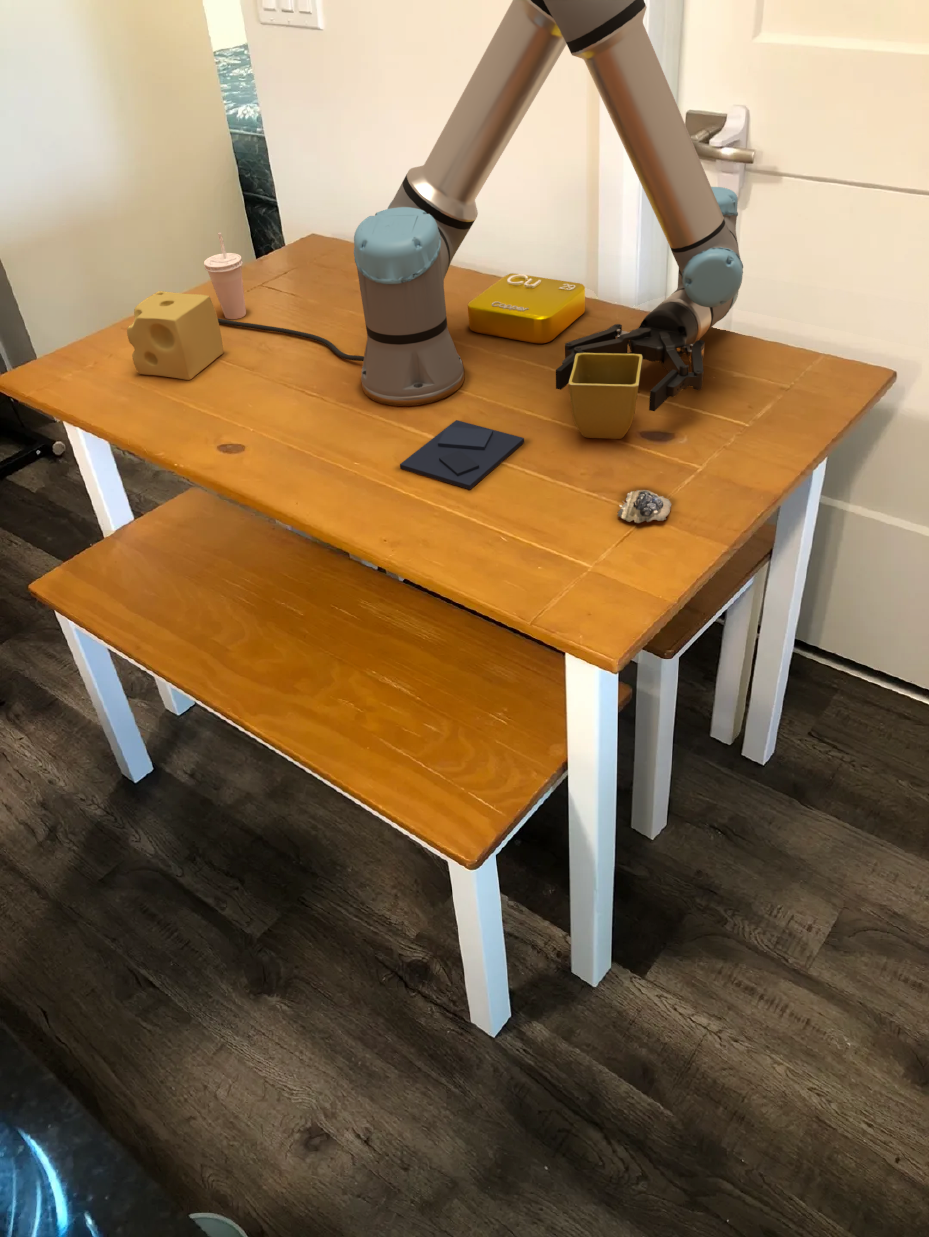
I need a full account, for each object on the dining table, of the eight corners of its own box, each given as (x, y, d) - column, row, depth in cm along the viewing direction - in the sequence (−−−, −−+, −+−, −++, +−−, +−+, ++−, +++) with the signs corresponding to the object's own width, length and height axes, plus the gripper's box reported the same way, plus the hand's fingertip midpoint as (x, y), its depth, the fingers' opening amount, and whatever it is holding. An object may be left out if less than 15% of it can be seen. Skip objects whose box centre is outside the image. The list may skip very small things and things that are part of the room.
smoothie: (250, 321, 169) (231, 239, 160) (213, 323, 169) (192, 241, 160) (256, 306, 174) (238, 225, 165) (221, 308, 174) (201, 228, 165)
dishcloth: (400, 468, 128) (399, 460, 127) (456, 424, 136) (455, 416, 135) (470, 490, 123) (469, 481, 122) (524, 442, 131) (524, 434, 130)
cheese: (136, 375, 156) (117, 314, 150) (175, 346, 163) (159, 287, 157) (191, 382, 152) (174, 320, 146) (229, 352, 160) (214, 292, 154)
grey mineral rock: (620, 530, 114) (620, 516, 113) (609, 492, 120) (609, 479, 119) (678, 524, 114) (679, 511, 113) (664, 487, 120) (665, 474, 119)
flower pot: (635, 448, 127) (638, 385, 122) (568, 446, 129) (567, 383, 123) (640, 415, 134) (642, 353, 128) (576, 413, 136) (575, 352, 130)
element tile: (464, 331, 159) (462, 302, 156) (510, 296, 169) (508, 268, 165) (546, 346, 153) (545, 317, 149) (589, 309, 162) (589, 280, 159)
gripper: (755, 368, 137) (692, 437, 124) (596, 336, 148) (522, 396, 136) (762, 316, 132) (696, 383, 119) (596, 287, 144) (520, 345, 131)
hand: (603, 390), depth 127 cm, fingers open, 13 cm apart
